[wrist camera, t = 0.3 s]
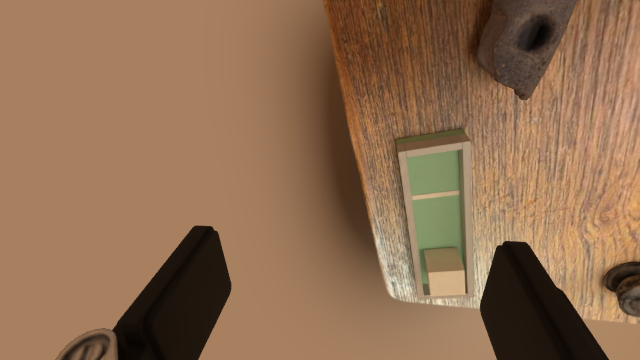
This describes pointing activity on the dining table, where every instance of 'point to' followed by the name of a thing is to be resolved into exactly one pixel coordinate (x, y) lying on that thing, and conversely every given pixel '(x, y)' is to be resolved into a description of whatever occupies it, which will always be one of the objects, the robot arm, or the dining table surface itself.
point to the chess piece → (626, 286)
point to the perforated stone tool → (522, 41)
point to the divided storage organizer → (438, 201)
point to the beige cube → (444, 272)
